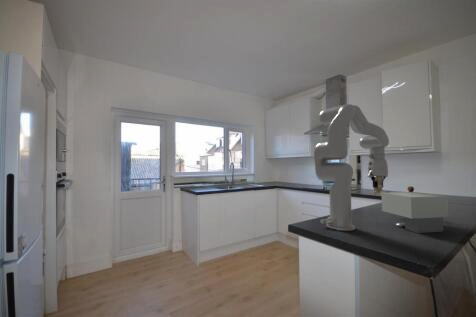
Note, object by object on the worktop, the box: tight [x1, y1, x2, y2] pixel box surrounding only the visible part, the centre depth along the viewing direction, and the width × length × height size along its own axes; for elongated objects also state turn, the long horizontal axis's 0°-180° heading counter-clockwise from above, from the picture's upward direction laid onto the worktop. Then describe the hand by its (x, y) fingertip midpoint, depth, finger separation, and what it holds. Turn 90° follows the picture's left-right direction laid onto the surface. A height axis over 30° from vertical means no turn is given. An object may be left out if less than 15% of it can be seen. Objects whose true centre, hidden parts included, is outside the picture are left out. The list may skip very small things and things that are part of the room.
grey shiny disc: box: [394, 222, 405, 228], centre depth 107 cm, size 5×5×1 cm
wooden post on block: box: [373, 176, 392, 196], centre depth 122 cm, size 16×3×12 cm, turn 9°
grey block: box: [381, 191, 449, 234], centre depth 105 cm, size 20×17×16 cm
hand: (377, 187), depth 128 cm, fingers closed on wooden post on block, 3 cm apart
